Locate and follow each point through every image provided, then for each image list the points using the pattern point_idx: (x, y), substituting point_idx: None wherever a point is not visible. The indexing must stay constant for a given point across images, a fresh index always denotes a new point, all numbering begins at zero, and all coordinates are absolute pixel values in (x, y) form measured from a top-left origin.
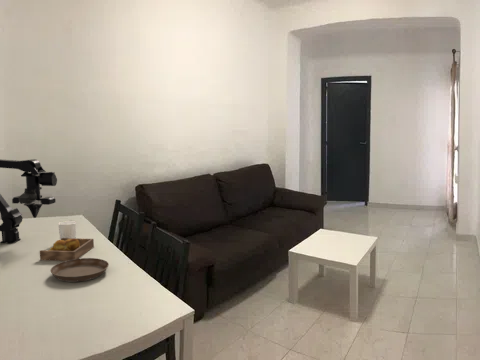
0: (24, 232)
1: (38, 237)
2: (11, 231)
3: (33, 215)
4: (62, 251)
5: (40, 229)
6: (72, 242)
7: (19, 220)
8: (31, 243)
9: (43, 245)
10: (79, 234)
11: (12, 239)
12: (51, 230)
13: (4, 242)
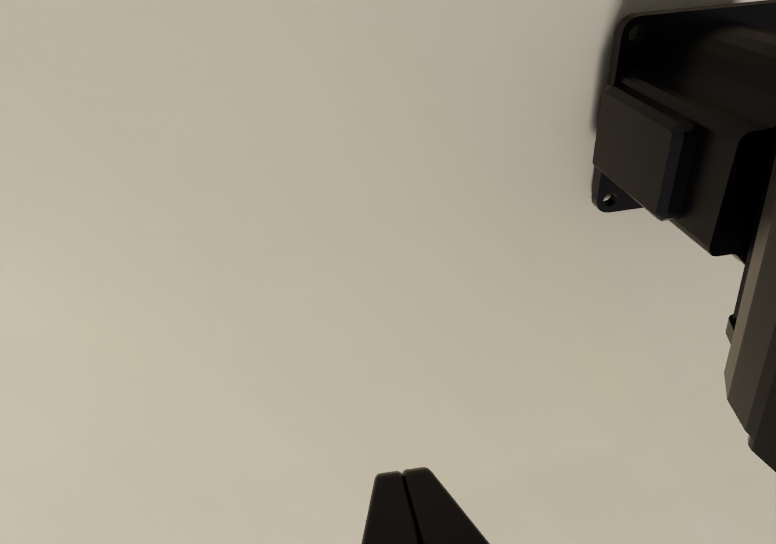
0: (669, 423)
1: (420, 328)
2: (765, 108)
3: (431, 524)
4: None
5: (557, 522)
6: None
7: (774, 336)
8: (339, 77)
9: (47, 5)
10: (5, 522)
11: (665, 72)
12: None
13: (749, 2)
